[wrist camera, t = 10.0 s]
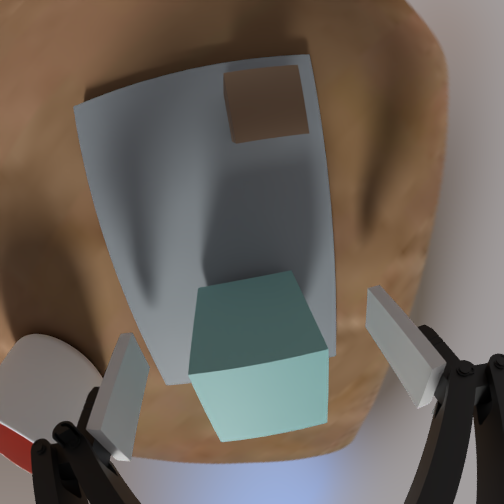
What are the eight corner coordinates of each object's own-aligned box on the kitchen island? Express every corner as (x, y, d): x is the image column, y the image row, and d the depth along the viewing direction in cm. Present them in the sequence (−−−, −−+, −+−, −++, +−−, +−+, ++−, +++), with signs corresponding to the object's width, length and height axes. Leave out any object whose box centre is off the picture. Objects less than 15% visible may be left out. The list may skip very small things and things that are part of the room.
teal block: (219, 356, 18) (221, 442, 12) (198, 287, 16) (188, 374, 10) (298, 341, 18) (327, 422, 12) (291, 270, 16) (328, 349, 10)
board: (82, 107, 13) (73, 106, 12) (303, 59, 14) (309, 54, 13) (168, 374, 21) (166, 385, 20) (330, 345, 21) (335, 355, 20)
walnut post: (223, 93, 13) (223, 73, 8) (274, 86, 13) (298, 64, 9) (231, 141, 14) (236, 143, 10) (282, 133, 14) (309, 133, 10)
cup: (45, 307, 18) (-18, 397, 9) (133, 387, 22) (111, 487, 12) (7, 352, 20) (-37, 422, 10) (78, 414, 23) (55, 489, 14)
